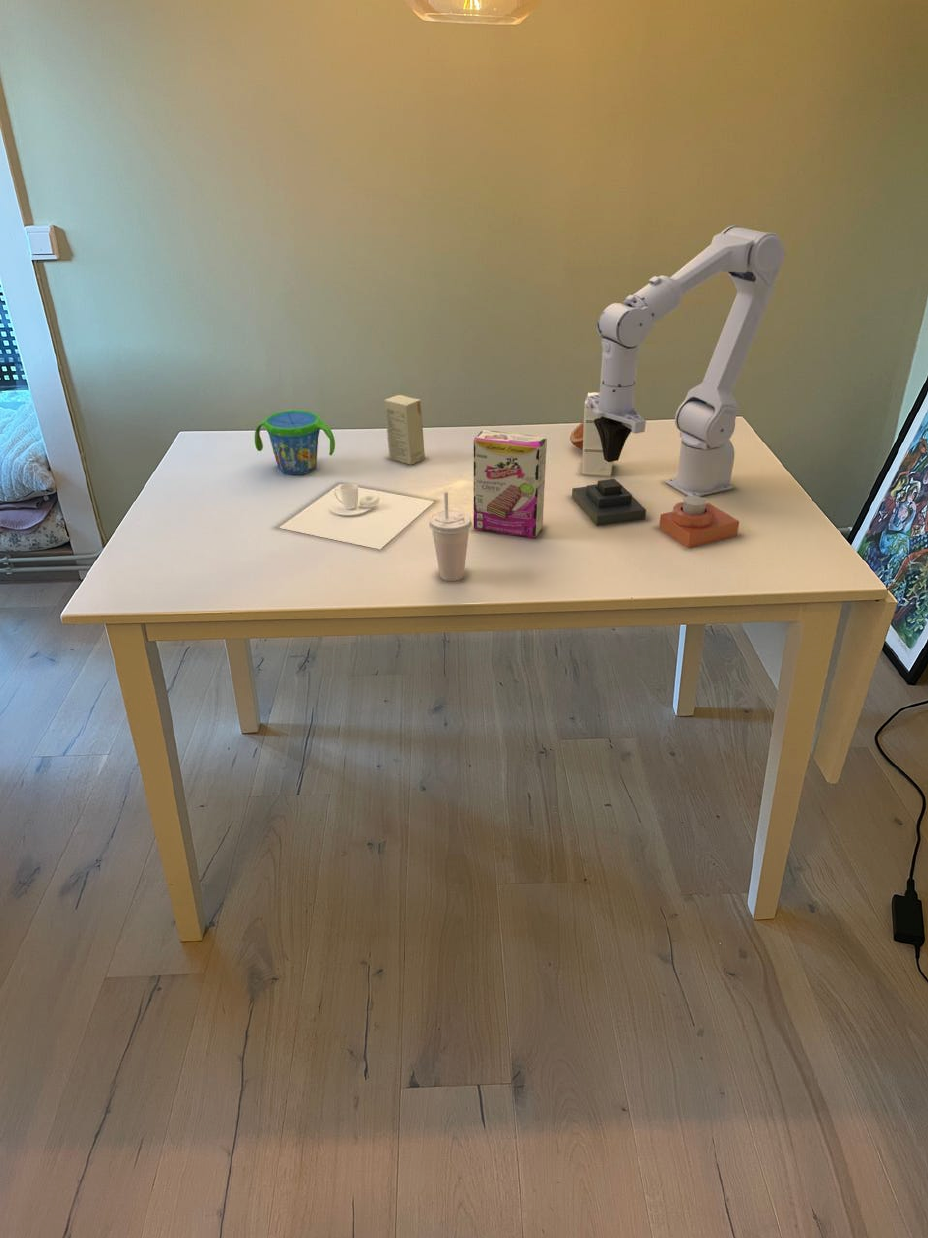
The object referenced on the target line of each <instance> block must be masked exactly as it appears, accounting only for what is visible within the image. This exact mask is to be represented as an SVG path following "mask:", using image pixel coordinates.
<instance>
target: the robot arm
mask: <svg viewBox="0 0 928 1238" xmlns="http://www.w3.org/2000/svg"><path fill="white" fill-rule="evenodd" d="M785 258H786V251H785V247H784V245H783V242H782V239H781V237H780V236H779V235H778V234H777V233H774V232H764V231H759V230H754V229H750V228H745V227H741V226H738V225H729V226H727V227H725V229H723V230H722V232H719V233H718V234H715V235H714V236H713V237H712V241H711V243H710V244H709V245H708V246H707V247H705V248H704V249H703V250H702V251H701V252H699V253H698V254H697V255H696V256H695V257H693V258H692V259H691V260H690V261H688V262H687V263H686V264H685V265H684V266H682V267H680V269H679V270H677V271H676V272H675V273H674V274H672V275H671V276H670V277H669V276H668V275H667V276H666V275H659V276H657V275H655V276H653V277H651V278H650V279H649V280H648V283H647V284H646V285H645V286H643V287H642V288H641V289H639V290H638V291H636V292H635V293H634V294H629V295H628V296H626V297H625V300H623V302H622V303H620V302H614V303H611V304H610V305H608V306H606V308H605V309H603V311H602V313H601V314H600V316H599V320H598V321H596V323H595V324H596V331H597V334H598V335H599V336H600V338H601V345H600V346H601V348H602V352H601V368H600V380H599V381H600V382H599V392H600V393H599V395H593V396H588V400H587V407H588V408H590V409H592V408H594V410H593V414H594V415H595V416H597V417H601V418H597V419H595V420H594V424H595V426H596V428H597V430H598V433H599V436H600V439H601V444H602V449H603V455H604V460H606V461H607V462H613V463H614V462H617V461H619V459H620V456H621V454H622V451H623V448H624V446H625V444H626V442H627V439H628V438H629V435H631V433H632V434H635V435H636V434H641V433H645V432H646V424H647V423H646V422H647V421H646V419H644V418H643V417H642V416H641V415H640V414H639V412H638V411H637V410H636V408H635V407H634V405H635V393H636V385H637V373H638V372H637V371H638V361H639V350H640V345H641V344H643V343H644V342H645V340H646V339H647V337H648V335H649V333H650V331H651V329H653V328H654V325H656V324H657V323H659V322H660V321H661V320H663V319H664V318H666V317H668V316H669V315H670V314H671V313H673V312H674V311H675V310H677V309H679V307H680V306H681V303H682V300H683V296H684V295H686V294H687V293H689V292H691V291H692V290H694V289H695V288H697V287H700V285H703V284H704V283H705V282H707V281H709V280H710V279H711V278H713V277H715V276H717V275H718V274H720V273H722V272H725V273H726V274H727V275H728V276H729V278H731V280H732V282H733V285H734V287H735V289H736V292H737V293H736V296H735V298H734V301H733V303H732V306H731V307H730V311H729V313H728V316H727V318H726V321H725V322H724V323H725V324H724V325H723V328H722V330H721V333H720V336H719V338H718V341H717V344H716V347H715V349H714V351H713V354H712V357H711V359H710V362H709V364H708V366H707V369H706V372H705V374H704V377H703V380H702V382H701V383H700V384H698V385H696V386H694V387H692V388H690V389H689V390H688V392H687V394H686V397H685V399H684V400H683V402H682V403H680V405H679V406H678V408H677V409H676V412H675V416H674V422H675V423H674V424H675V427H676V429H677V430H678V431H679V438H681V440H680V441H681V442H680V448H679V456H678V465H677V471H676V477H675V478H669V479H666V480H665V483H666V484H667V485H669V486H670V487H672V488H674V489H675V490H677V491H679V492H680V493H682V494H684V495H685V496H686V497H688V496H699V497H703V496H707V495H711V494H717V493H720V492H725V491H730V490H732V489H733V487H734V486H733V485H732V484H731V481H732V475H733V474H732V473H733V467H734V461H735V448H734V444H733V443H732V441H731V438H732V436H733V434H734V432H735V428H736V419H737V415H738V412H739V410H740V408H739V405H738V403H737V401H736V399H735V396H734V393H733V392H734V389H735V387H736V385H737V382H738V380H739V378H740V375H741V372H742V370H743V367H744V365H745V362H746V361H747V358H748V355H749V353H750V350H751V348H752V346H753V343H754V340H755V338H756V336H757V333H758V330H759V328H760V326H761V324H762V321H763V318H764V316H765V314H766V311H767V308H768V306H769V304H770V301H771V299H772V296H773V294H774V291H775V287H776V281H777V277H778V274H779V272H780V270H781V267H782V264H783V262H784V260H785Z"/></svg>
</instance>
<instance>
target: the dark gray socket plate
mask: <svg viewBox="0 0 928 1238" xmlns="http://www.w3.org/2000/svg"><path fill="white" fill-rule="evenodd" d="M617 482H618V483H619V484H620V485H621V486H622V488H621V494H615V495H608V496H603V495H602V494H601V493H600V492H599V491H598V490H597V484H587V485H585V486H581V487H573V488H572V489H571V499H572V500H573V501H574V502H575V504H577V505H578V507H579V508H580V509H581V510H582V511H583V512H584V514H585V515H586V516H587V518H589V520H591V522H592V523H593V524H594V525H595V526H596V527H599V526H606V525H614V524H621V523H629V522H636V521H643V520H646V517H647V516H646V514H647V509H646V508H645V507H644V506H643V505H642V504H641V503H640V502H639V501H638V500H637V499H636V498H635V497H634V496H633V495H632V494H631V493H630V491H629V490H627V488H625V487H624V486H623V485H622V484H621V483H620V482H619V481H617Z"/></svg>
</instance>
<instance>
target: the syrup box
mask: <svg viewBox="0 0 928 1238" xmlns="http://www.w3.org/2000/svg"><path fill="white" fill-rule="evenodd" d="M599 393H600V391H599V392H587V394H586V398H585V401H584V410H583V411H584V414H583V421H584V432H583V449H582V456H581V457H582V459H581V474H582V475H586V476H598V477H599V476H600V477H611V475H612V473H613V467H614V461H613V462H607V461H606V460H604V455H603V449H602V444H601V439H600V436H599V433H598V430H597V428H596V426H595V424H594V420H595V419H597V418H601V417H597V416H595V415H594V414H593V410H594V408H592V409H590V408H588V407H587V400H588V396H593V395H599Z"/></svg>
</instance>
